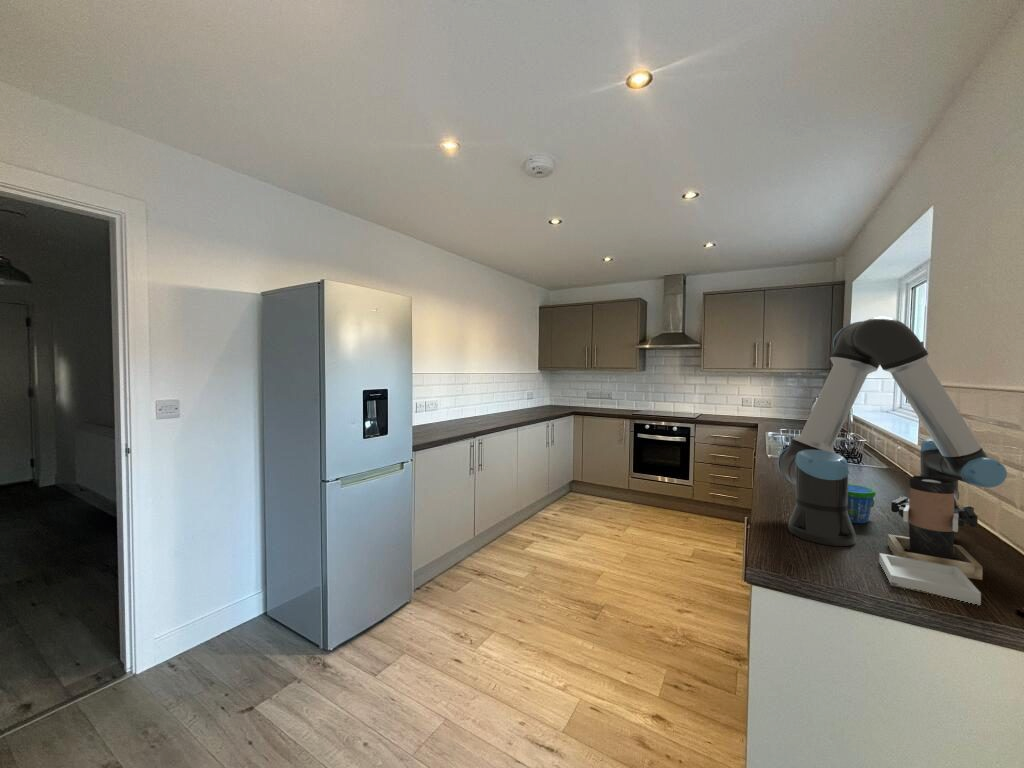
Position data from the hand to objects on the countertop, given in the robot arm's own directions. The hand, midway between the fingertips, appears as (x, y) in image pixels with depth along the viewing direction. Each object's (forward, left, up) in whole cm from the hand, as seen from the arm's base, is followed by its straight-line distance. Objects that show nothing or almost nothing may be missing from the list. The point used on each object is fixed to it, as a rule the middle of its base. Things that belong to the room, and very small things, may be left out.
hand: (929, 520), depth 94 cm
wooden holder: (+1, +5, -11) cm, 12 cm away
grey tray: (-3, -10, -11) cm, 15 cm away
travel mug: (+1, +5, -11) cm, 12 cm away
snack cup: (-11, +31, -11) cm, 34 cm away
